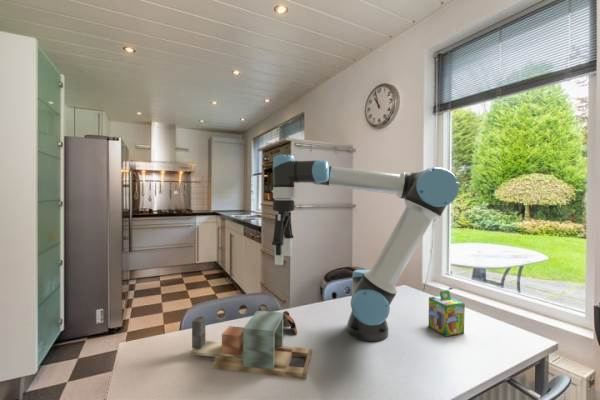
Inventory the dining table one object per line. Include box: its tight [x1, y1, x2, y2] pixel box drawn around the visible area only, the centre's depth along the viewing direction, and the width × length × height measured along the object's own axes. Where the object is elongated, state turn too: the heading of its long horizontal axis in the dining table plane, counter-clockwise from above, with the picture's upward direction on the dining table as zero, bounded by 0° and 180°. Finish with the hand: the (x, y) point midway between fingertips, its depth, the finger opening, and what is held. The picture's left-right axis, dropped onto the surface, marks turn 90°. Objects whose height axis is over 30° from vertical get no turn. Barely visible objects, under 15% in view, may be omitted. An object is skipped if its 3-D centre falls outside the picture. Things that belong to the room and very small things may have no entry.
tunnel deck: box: [212, 310, 313, 380], centre depth 87 cm, size 28×13×13 cm, turn 81°
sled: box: [189, 316, 245, 358], centre depth 89 cm, size 20×7×9 cm, turn 81°
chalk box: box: [427, 290, 466, 337], centre depth 108 cm, size 9×9×15 cm
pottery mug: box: [282, 310, 298, 336], centre depth 106 cm, size 12×10×8 cm
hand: (283, 260), depth 99 cm, fingers open, 13 cm apart
